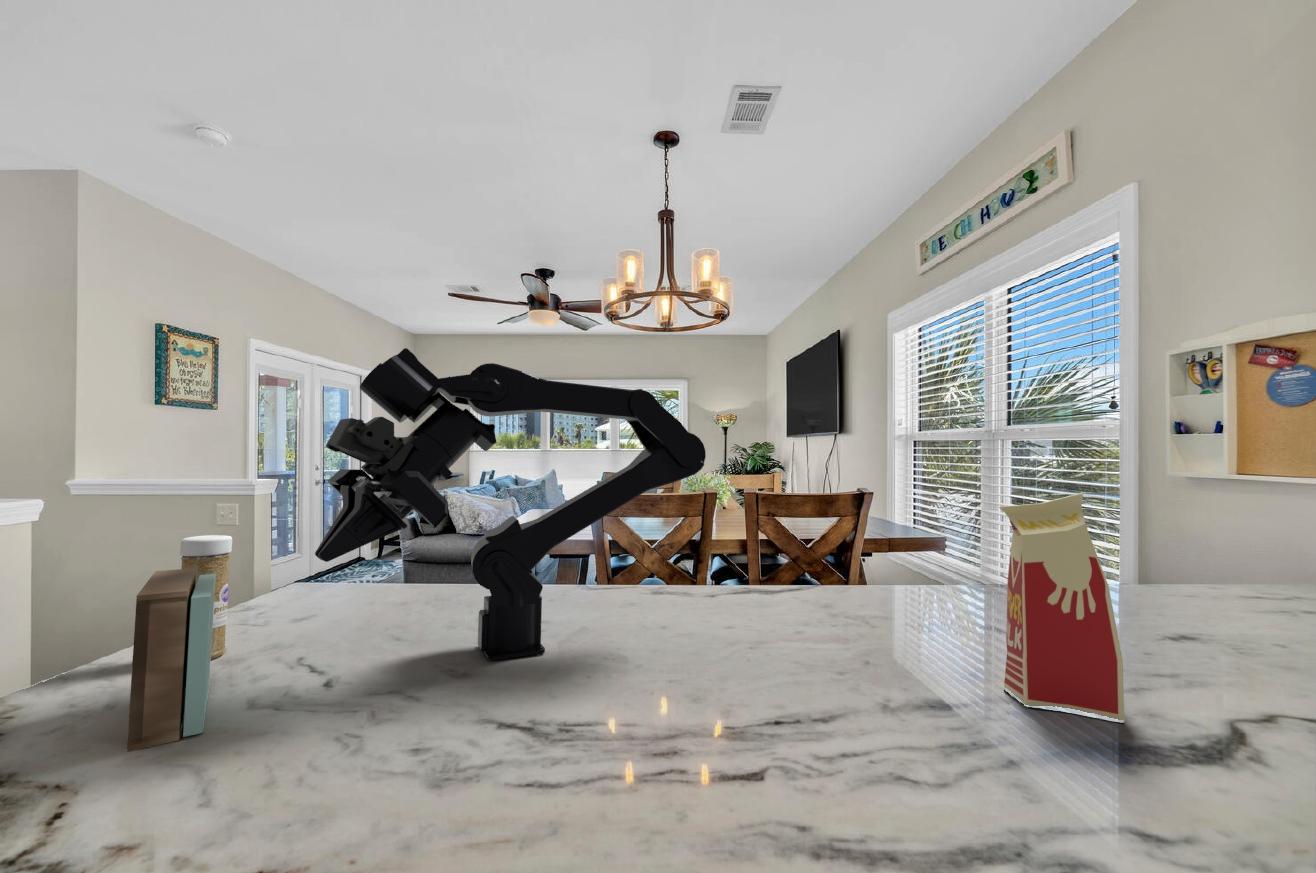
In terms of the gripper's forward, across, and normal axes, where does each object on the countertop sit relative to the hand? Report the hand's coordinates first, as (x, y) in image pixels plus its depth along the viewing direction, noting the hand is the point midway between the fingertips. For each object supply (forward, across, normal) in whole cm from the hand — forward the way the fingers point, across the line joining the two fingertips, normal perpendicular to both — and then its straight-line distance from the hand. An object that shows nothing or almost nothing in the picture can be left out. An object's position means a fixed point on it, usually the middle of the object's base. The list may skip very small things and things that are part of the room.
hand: (320, 558), depth 55 cm
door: (+15, -2, +3) cm, 15 cm away
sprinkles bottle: (+13, -19, +5) cm, 23 cm away
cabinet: (+17, -2, +1) cm, 17 cm away
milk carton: (-26, +53, +44) cm, 74 cm away
